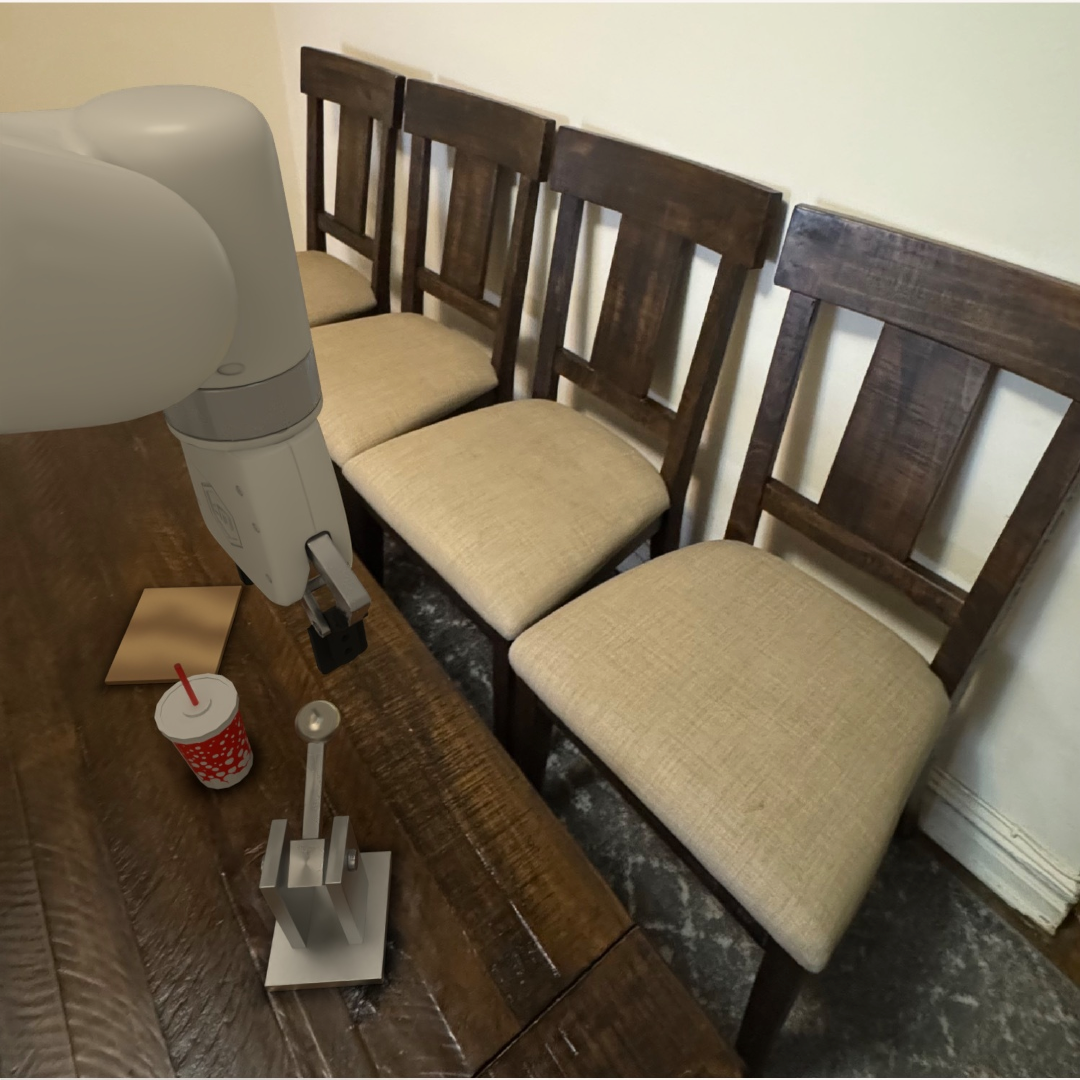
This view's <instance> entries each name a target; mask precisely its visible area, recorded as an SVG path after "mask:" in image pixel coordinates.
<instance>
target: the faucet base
mask: <svg viewBox="0 0 1080 1080" xmlns="http://www.w3.org/2000/svg"><path fill="white" fill-rule="evenodd" d="M269 829H270V830H269V834H268V840H267V844H266V849H265V853H264V854H263V855H262V858H261V860H260V861H261V862H260V880H259V884H258V889H259V891H260V892H261V895H262V897H263V898H264V900H265V901H266V904H267V905H268V908H269V909H270V911H271V912H272V914H273V916H274V918H275V924H274V928H273V929H274V930H273V934H272V940H271V946H270V951H269V958H268V963H267V968H266V973H265V974H266V975H265V980H264V988H265V990H266V991H267V992H284V991H298V990H311V989H324V988H325V989H326V988H327V989H328V988H341V987H353V986H354V987H355V986H368V985H383V984H384V980H385V966H386V953H387V952H386V951H387V939H388V925H389V913H390V897H391V883H392V871H393V854H392V851H391V850H389V851H369V852H361V851H360V849H359V845H358V842H357V838H356V835H355V833H354V828H353V824H352V822H351V818H350V816H349V815H339V816H336V815H335V816H334V817H333V821H332V828H331V836H330V839H331V842H330V849H329V857H328V864H327V871H326V879H325V885H324V886H313V887H297V888H287V885H288V870H289V856H290V841H291V840H297V839H296V836H295V833H294V832H293V830H292V826H291V825H290V822H289V820H288V818H285V819H284V818H283V819H281V818H280V819H272V820H271V824H270V828H269Z"/></svg>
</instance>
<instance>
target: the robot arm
mask: <svg viewBox="0 0 1080 1080" xmlns="http://www.w3.org/2000/svg"><path fill="white" fill-rule="evenodd" d="M295 245H296V244H295V240H294V234H293V230H292V223H291V219H290V213H289V208H288V202H287V197H286V193H285V186H284V182H283V176H282V171H281V165H280V160H279V156H278V152H277V146H276V143H275V139H274V134H273V132H272V129H271V127H270V124H269V122H268V121H267V118H266V117H265V115H264V114H263V113H262V111H260V109H259V108H258V107H257V105H255V103H253V102H251V101H250V100H248V99H247V98H246V97H244V96H242V95H240V94H238V93H235V92H232V91H228V90H225V89H221V88H218V87H212V86H206V85H196V84H155V85H142V86H133V87H127V88H126V87H125V88H121V89H116V90H112V91H109V92H104V93H101V94H100V95H96V96H94V97H93V98H91V99H88V100H86V101H84V102H83V103H82V104H79V105H76V106H74V107H66V108H65V107H63V108H55V109H40V110H23V111H5V112H0V435H13V434H23V433H37V432H47V431H58V430H69V429H70V430H71V429H81V428H92V427H101V426H107V425H113V424H114V425H115V424H119V423H123V422H128V421H132V420H136V419H140V418H142V417H145V416H146V417H147V416H149V415H153V414H156V413H158V412H161V413H162V415H163V417H164V420H165V422H166V425H167V427H168V430H169V431H170V433H171V434H172V435H173V436H174V437H175V439H178V440H179V442H180V446H181V448H182V449H181V450H182V453H183V457H184V460H185V463H186V467H187V471H188V474H189V478H190V480H191V484H192V487H193V491H194V494H195V497H196V501H197V504H198V507H199V511H200V514H201V516H202V519H203V522H204V525H205V526H206V528H207V529H208V531H209V533H210V534H211V535H212V537H213V538H214V539H215V541H216V542H217V543H218V544H219V545H220V546H221V547H222V549H223V550H224V551H225V553H226V554H227V555H228V556H229V558H231V559H232V560H233V562H234V564H235V567H236V570H237V573H238V575H239V579H240V581H241V582H242V583H243V584H244V586H249V587H250V586H253V585H255V586H256V588H258V589H259V591H260V592H261V593H262V594H263V595H264V596H265V597H266V598H267V599H268V600H269V601H271V602H272V603H274V604H276V605H278V606H283V607H289V606H291V605H292V604H295V603H297V602H299V603H300V604H301V606H302V608H303V610H304V612H305V614H306V615H307V618H308V619H309V622H310V623H311V624H310V625H309V626H308V627H306V630H307V634H308V638H309V641H310V645H311V649H312V653H313V657H314V660H315V664H316V668H317V670H318V671H319V672H320V673H321V674H322V675H328V674H331V673H332V672H334V671H335V670H337V669H338V668H340V667H342V666H345V665H348V664H349V663H351V662H352V661H354V660H355V659H356V658H357V657H358V656H360V655H362V654H363V653H364V652H366V651H367V650H368V646H369V645H368V639H367V635H366V630H365V624H364V619H365V618H367V617H368V616H369V610H370V607H371V605H372V599H371V596H370V595H369V593H368V591H367V590H366V588H365V587H364V585H363V584H362V582H361V581H360V579H359V577H357V575H356V573H355V572H354V570H353V569H352V567H353V561H354V559H353V557H354V556H353V547H352V539H351V534H350V527H349V524H348V519H347V514H346V510H345V507H344V506H345V505H344V502H343V498H342V495H341V490H340V487H339V482H338V479H337V476H336V473H335V469H334V465H333V462H332V458H331V456H330V451H329V448H328V446H327V445H328V444H327V442H326V439H325V437H324V434H323V430H322V428H321V424H320V422H319V420H318V417H319V415H320V414H321V412H322V410H323V407H324V395H323V391H322V385H321V379H320V374H319V367H318V363H317V358H316V351H315V347H314V341H313V337H312V332H311V327H310V326H311V325H310V320H309V315H308V311H307V310H308V309H307V305H306V304H307V303H306V299H305V294H304V293H305V292H304V289H303V282H302V277H301V271H300V267H299V260H298V256H297V251H296V246H295ZM310 564H312V566H313V567H314V569H315V570H316V572H317V574H316V575H314V576H313V577H311V578H309V576H310V573H311V572H310V571H311V567H310ZM324 586H327V588H328V589H329V591H330V592H331V594H332V596H333V597H334V601H335V605H333V606H332V607H330V608H328V609H326V610H324V611H322V609H321V607H320V605H319V603H318V601H317V599H316V598H315V596H314V594H313V592H315V591H317V590H319V589H321V588H323V587H324Z"/></svg>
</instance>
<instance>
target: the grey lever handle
mask: <svg viewBox="0 0 1080 1080" xmlns="http://www.w3.org/2000/svg"><path fill="white" fill-rule="evenodd" d="M342 726H343V715H342V713H341V711H340V709H339V708H338V707H337V706H336V705H335V703H333V702H331V701H330V700H327V699H314V700H313V699H312V700H310V701H308V702H307V703H304V705H302V706H301V707H300V709H299V710H298V712H297V713H296V715H295V719H294V731H295V733H296V736H297V737H298V738H299V740H300V741H301V742H302V743H304V744H306V745H307V753H306V766H305V767H306V769H305V782H304V783H305V785H304V798H303V814H302V815H303V816H302V832H301V833H302V834H301V839H296V840H291V841H290V856H289V870H288V885H287V888H297V887H313V886H324V885H325V879H326V871H327V864H328V857H329V849H330V842H331V838H323V837H322V836H323V822H324V821H323V820H324V819H323V818H324V801H325V782H326V766H327V765H326V762H327V745H328V744H330V743H332V742H333V741H334V740H335V739H336V738H337V737H338V736H339V734H340V732H341V731H342Z"/></svg>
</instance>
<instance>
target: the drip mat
mask: <svg viewBox="0 0 1080 1080" xmlns="http://www.w3.org/2000/svg"><path fill="white" fill-rule="evenodd" d="M243 591H244V588H243V586H242V585H217V586H189V587H188V586H185V587H183V586H182V587H149V588H147V587H146V588H144V589H143V592H142V593H141V596H140V599H139V601H138V603H137V604H136V605H137V606H136V607H135V610H134V612H133V615H132V617H131V619H130V622H129V624H128V626H127V629H126V631H125V633H124V635H123V638H122V640H121V642H120V645H119V647H118V649H117V651H116V654H115V656H114V658H113V661H112V664H111V665H110V667H109V669H108V672H107V675H106V677H105V679H104V683H105V685H106V686H118V685H119V686H120V685H121V686H122V685H141V684H142V685H143V684H144V685H145V684H168V683H171V684H173V683H177V682H179V681H181V680H180V678H179V676H178V674H177V672H176V670H175V668H174V665H175V664H176V663H180V664H181V666H182V668H183V671H184V673H185V675H186V677H187V678H188V677H191V676H193V675H200V674H207V673H210V674H215V675H219V670H220V667H221V664H222V660H223V657H224V653H225V650H226V647H227V645H228V640H229V637H230V634H231V631H232V627H233V623H234V620H235V617H236V613H237V610H238V607H239V604H240V600H241V597H242V594H243Z"/></svg>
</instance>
